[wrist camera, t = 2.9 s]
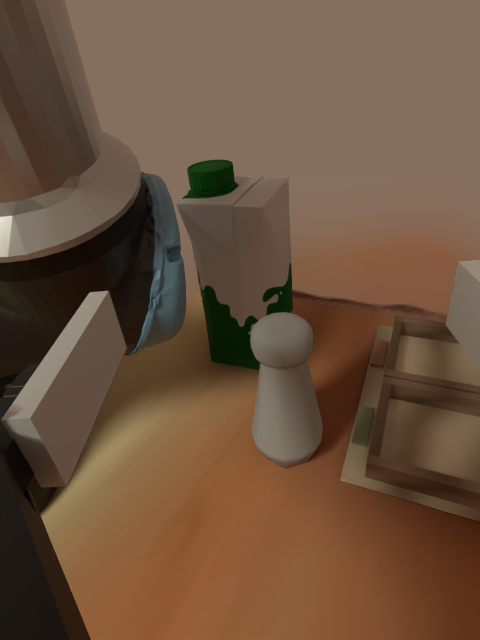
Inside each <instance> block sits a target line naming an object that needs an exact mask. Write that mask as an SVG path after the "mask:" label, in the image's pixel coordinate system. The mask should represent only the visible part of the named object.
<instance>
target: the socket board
mask: <svg viewBox="0 0 480 640" xmlns="http://www.w3.org/2000/svg"><path fill="white" fill-rule="evenodd" d="M341 481H343V482H347V483H350V484H353V485H357V486H360V487H364V488H367V489H370V490H374V491H377V492H381V493H384V494H387V495H391V496H394V497H397V498H401V499H404V500H408V501H411V502H414V503H418V504H421V505H425V506H428V507H431V508H435V509H438V510H441V511H445V512H448V513H452V514H455V515H458V516H462V517H465V518H469V519H472V520H475V521H479V522H480V371H479V369H478V368H477V366H476V365H475V364H474V362H473V361H472V360H471V358H470V357H469V356H468V354H467V353H466V352H465V350H464V349H463V348H462V346H461V345H460V343H459V342H458V341H457V339H456V338H455V337H454V335H453V334H452V333H451V331H450V330H449V329H448V327H447V326H446V323H442V322H435V321H427V320H420V319H413V318H405V317H398V316H395V321H394V326H393V327H392V326H385V325H378V328H377V332H376V336H375V340H374V344H373V348H372V352H371V356H370V360H369V364H368V368H367V372H366V376H365V380H364V384H363V388H362V393H361V397H360V401H359V405H358V409H357V413H356V417H355V421H354V425H353V429H352V433H351V437H350V441H349V445H348V449H347V453H346V457H345V461H344V465H343V469H342V473H341Z"/></svg>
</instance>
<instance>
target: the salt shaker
mask: <svg viewBox="0 0 480 640" xmlns="http://www.w3.org/2000/svg"><path fill="white" fill-rule="evenodd" d="M313 336H314V335H313V330H312V327H311V326H310V324H309V323H308V322H307V320H305V319H303V318H302V317H300V316H298V315H296V314H293V313H287V312H279V313H272V314H269V315H267V316H264V317H263V318H261V319H260V320H259V321H258V322H257V323H256V324H254V325H253V328H252V332H251V338H250V343H251V349H252V351H253V353H254V356H255V358H256V359H257V361H259V362H260V369H259V378H258V386H257V395H256V403H255V410H254V416H253V423H252V430H251V432H252V435H253V438H254V440H255V443H256V446H257V448H258V449H259V450H260V451H261V453H262V454H263V455H264V456H265V457H266V458H267V459H269V460H271V461H272V462H274V463H276V464H278V465H280V466H282V467H283V468H285V469H286V468H289V467H293V466H296V465H299V464H302V463H306V462H307V461H308V460H309V458H310V457H311V456H312V454H313V453H314V452H315V450H316V449H317V447H318V446H319V444H320V443H321V440H322V431H323V423H322V419H321V415H320V411H319V407H318V403H317V399H316V395H315V391H314V387H313V383H312V379H311V375H310V371H309V367H308V362H307V359H308V357H309V356H310V355H311V353H312V349H313Z"/></svg>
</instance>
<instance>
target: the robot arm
mask: <svg viewBox="0 0 480 640" xmlns="http://www.w3.org/2000/svg"><path fill="white" fill-rule="evenodd" d="M180 251H181V247H180V234H179V228H178V223H177V219H176V215H175V210H174V206H173V203H172V200H171V197H170V194H169V192H168V189H167V187H166V184H165V183H164V181H163V180H162V179H161V178H160V177H159V176H157V175H154V174H146V173H144V172H142V173H141V170H140V166H139V163H138V160H137V158H136V156H135V155H134V153H133V152H132V151H131V150H130V148H129V147H128V146H127V145H125V144H124V143H122V142H121V141H119V140H118V139H116V138H114V137H112V136H111V135H109V134H107V133H105V132H104V131H102V130H101V127H100V124H99V120H98V117H97V113H96V110H95V107H94V103H93V100H92V96H91V93H90V89H89V85H88V82H87V78H86V75H85V71H84V68H83V64H82V61H81V57H80V54H79V50H78V47H77V43H76V40H75V37H74V33H73V30H72V26H71V23H70V19H69V16H68V12H67V9H66V5H65V2H64V0H0V640H91V639H90V637H89V634H88V632H87V629H86V627H85V624H84V622H83V619H82V617H81V614H80V612H79V609H78V607H77V605H76V602H75V600H74V597H73V595H72V592H71V590H70V587H69V585H68V582H67V580H66V578H65V575H64V573H63V570H62V568H61V565H60V563H59V560H58V558H57V555H56V553H55V550H54V548H53V546H52V543H51V541H50V538H49V536H48V533H47V531H46V528H45V526H44V523H43V521H42V519H41V516H40V514H39V512H40V510H41V509H42V508H43V507H44V505H45V504H46V503H47V501H48V500H49V498H50V497H51V495H52V494H53V492H54V491H55V489H56V487H63V486H67V485H68V483H69V480H70V478H71V476H72V473H73V471H74V469H75V467H76V464H77V462H78V460H79V457H80V455H81V453H82V450H83V448H84V446H85V443H86V441H87V439H88V436H89V434H90V432H91V429H92V427H93V425H94V422H95V420H96V418H97V416H98V413H99V411H100V409H101V406H102V404H103V402H104V399H105V397H106V395H107V392H108V390H109V388H110V385H111V383H112V381H113V378H114V376H115V374H116V371H117V369H118V367H119V364H120V362H121V360H122V358H123V356H124V355H133V354H136V353H137V352H139V351H140V350H141V349H143V348H146V347H149V346H152V345H155V344H158V343H162V342H165V341H167V340H169V339H171V338H173V337H174V336H175V335H176V334H177V333H178V332H179V330H180V328H181V327H182V324H183V321H184V317H185V310H186V285H185V284H186V282H185V271H184V263H183V260H182V257H181V254H180ZM446 326H447V327H448V329H449V330H450V331H451V333H452V334H453V335H454V337H455V338H456V339H457V341H458V342H459V343H460V345H461V346H462V348H463V349H464V350H465V352H466V353H467V354H468V356H469V357H470V358H471V360H472V361H473V362H474V364H475V365H476V366H477V368H478V369H479V371H480V260H473V261H472V260H471V261H460V262H458V266H457V271H456V276H455V280H454V285H453V290H452V295H451V300H450V305H449V310H448V315H447V320H446Z"/></svg>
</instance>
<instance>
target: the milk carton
mask: <svg viewBox="0 0 480 640" xmlns="http://www.w3.org/2000/svg"><path fill="white" fill-rule="evenodd" d="M187 171H188V177H189V183H190V188H191V190H189V192H188V194H187V195H186V196H184V197H183V198H182V200H181V201H179V202H178V203H177V208H178V210H179V213H180V215H181V218H182V220H183V222H184V225H185V227H186V230H187V232H188V235H189V237H190V240H191V243H192V248H193V253H194V259H195V263H196V269H197V274H198V280H199V285H200V290H201V296H202V301H203V306H204V312H205V318H206V325H207V332H208V339H209V346H210V353H211V360H212V361H216V362H222V363H227V364H232V365H237V366H243V367H248V368H253V369H260V362H259V361H257V359H256V358H255V356H254V353H253V351H252V349H251V343H250V338H251V332H252V328H253V325H254V324H256V323H257V322H258V321H259V320H260V319H261V318H263V317H264V316H267V315H269V314H272V313H279V312H287V313H292V311H293V303H292V274H291V246H290V222H289V221H290V220H289V186H288V178H263V177H262V176H251V177H234V171H233V164H232V162H231V161H228V160H209V161H203V162H199V163H195V164H193V165H191V166H189V167H188V170H187Z"/></svg>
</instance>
